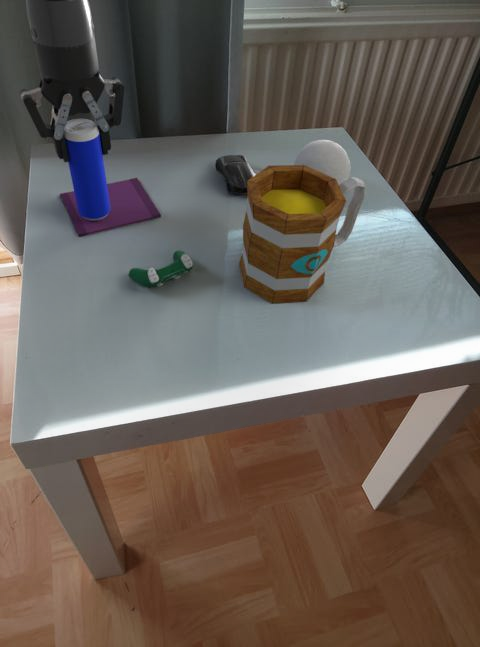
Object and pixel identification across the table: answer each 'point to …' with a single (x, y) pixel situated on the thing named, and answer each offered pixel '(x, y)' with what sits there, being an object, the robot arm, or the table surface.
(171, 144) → the table surface
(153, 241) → the table surface
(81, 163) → the beverage can
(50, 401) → the table surface
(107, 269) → the table surface
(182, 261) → the gaming controller
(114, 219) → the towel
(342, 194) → the mug
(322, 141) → the ball
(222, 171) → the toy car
